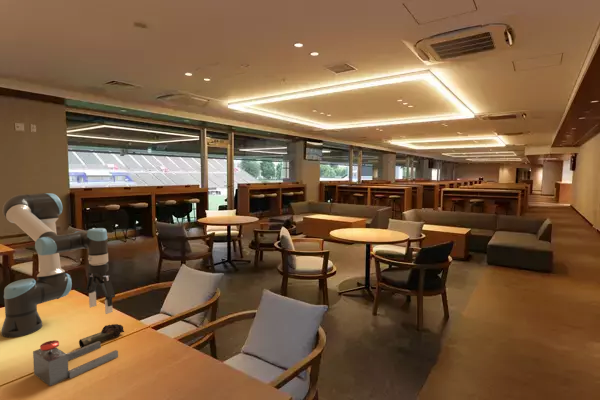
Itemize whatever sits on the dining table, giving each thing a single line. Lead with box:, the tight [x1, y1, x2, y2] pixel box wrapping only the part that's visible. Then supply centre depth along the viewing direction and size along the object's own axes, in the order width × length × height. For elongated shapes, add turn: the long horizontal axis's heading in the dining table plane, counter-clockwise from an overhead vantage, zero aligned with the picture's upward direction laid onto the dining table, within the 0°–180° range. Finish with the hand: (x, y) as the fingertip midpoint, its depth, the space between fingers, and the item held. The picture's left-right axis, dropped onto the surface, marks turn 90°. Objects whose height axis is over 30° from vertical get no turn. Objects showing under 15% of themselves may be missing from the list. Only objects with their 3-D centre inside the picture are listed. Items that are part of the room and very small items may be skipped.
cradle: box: [32, 340, 119, 387], centre depth 134 cm, size 15×24×12 cm, turn 148°
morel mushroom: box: [78, 323, 125, 348], centre depth 154 cm, size 18×7×6 cm, turn 144°
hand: (100, 309), depth 154 cm, fingers open, 13 cm apart
